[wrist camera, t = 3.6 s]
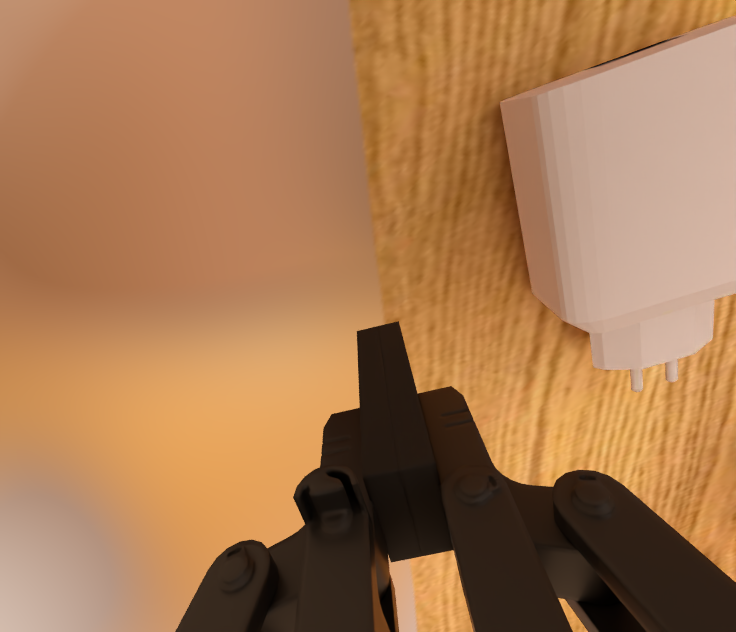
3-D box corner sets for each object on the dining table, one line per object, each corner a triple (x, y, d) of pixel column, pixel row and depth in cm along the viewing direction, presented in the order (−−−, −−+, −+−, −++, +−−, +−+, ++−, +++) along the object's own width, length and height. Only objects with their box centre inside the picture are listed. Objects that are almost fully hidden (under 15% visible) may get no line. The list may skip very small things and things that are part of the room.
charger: (542, 383, 23) (492, 101, 17) (708, 335, 22) (721, 17, 16) (587, 442, 19) (542, 92, 12) (796, 384, 18) (860, -25, 11)
